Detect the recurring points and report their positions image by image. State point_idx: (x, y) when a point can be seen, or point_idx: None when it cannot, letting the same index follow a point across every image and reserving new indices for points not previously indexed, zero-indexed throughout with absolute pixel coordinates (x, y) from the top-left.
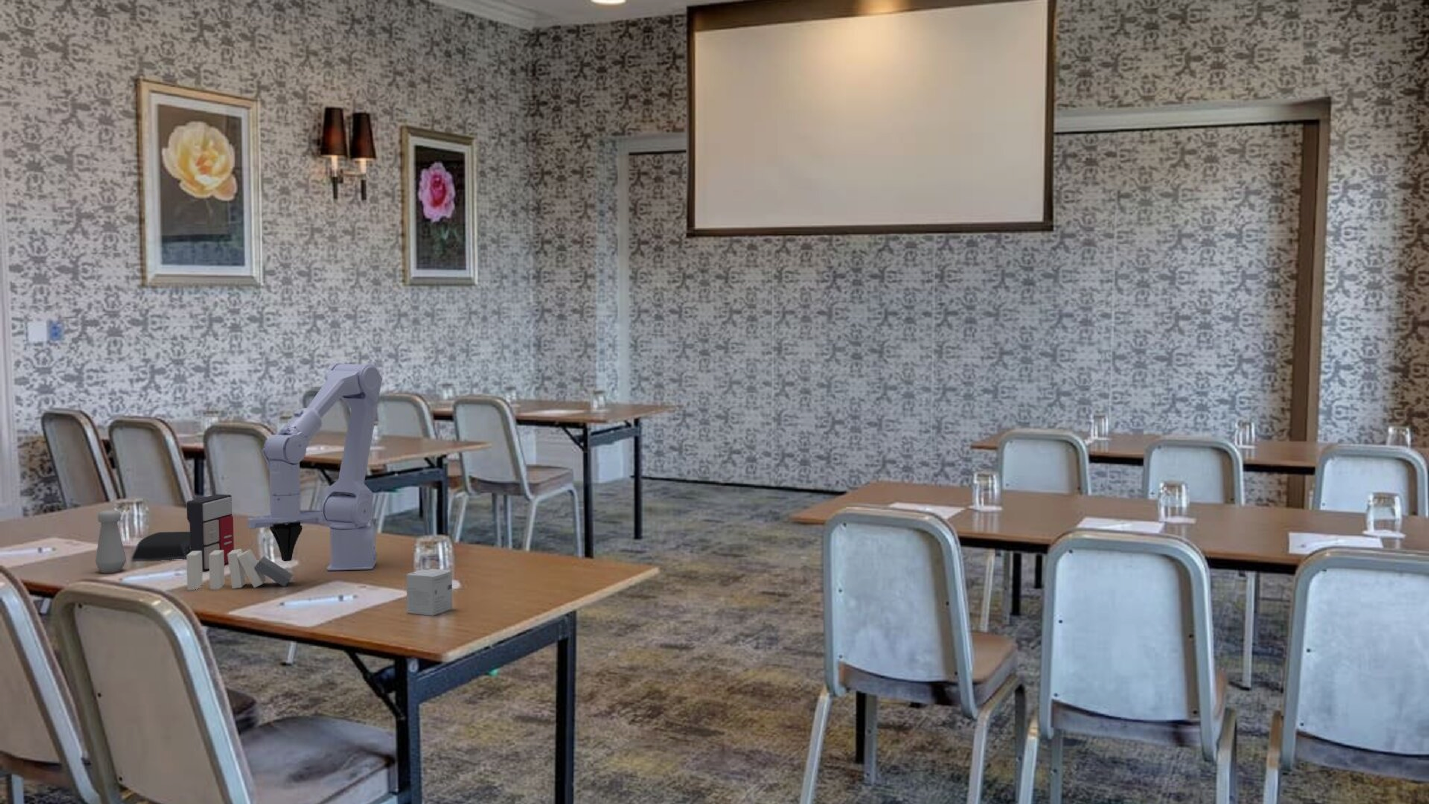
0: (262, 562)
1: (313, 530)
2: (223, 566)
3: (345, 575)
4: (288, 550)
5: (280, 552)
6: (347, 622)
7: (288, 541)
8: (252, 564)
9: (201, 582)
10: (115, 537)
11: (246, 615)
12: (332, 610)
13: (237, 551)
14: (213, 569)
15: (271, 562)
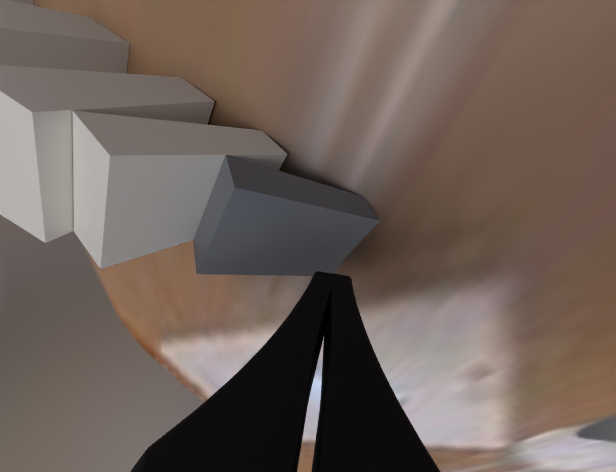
0: (215, 272)
1: None
2: (38, 52)
3: (612, 238)
4: (324, 358)
5: (302, 298)
6: None
7: (319, 416)
8: (178, 240)
9: (14, 1)
10: None
11: (187, 372)
12: (310, 424)
13: (31, 191)
14: None
15: (279, 218)
